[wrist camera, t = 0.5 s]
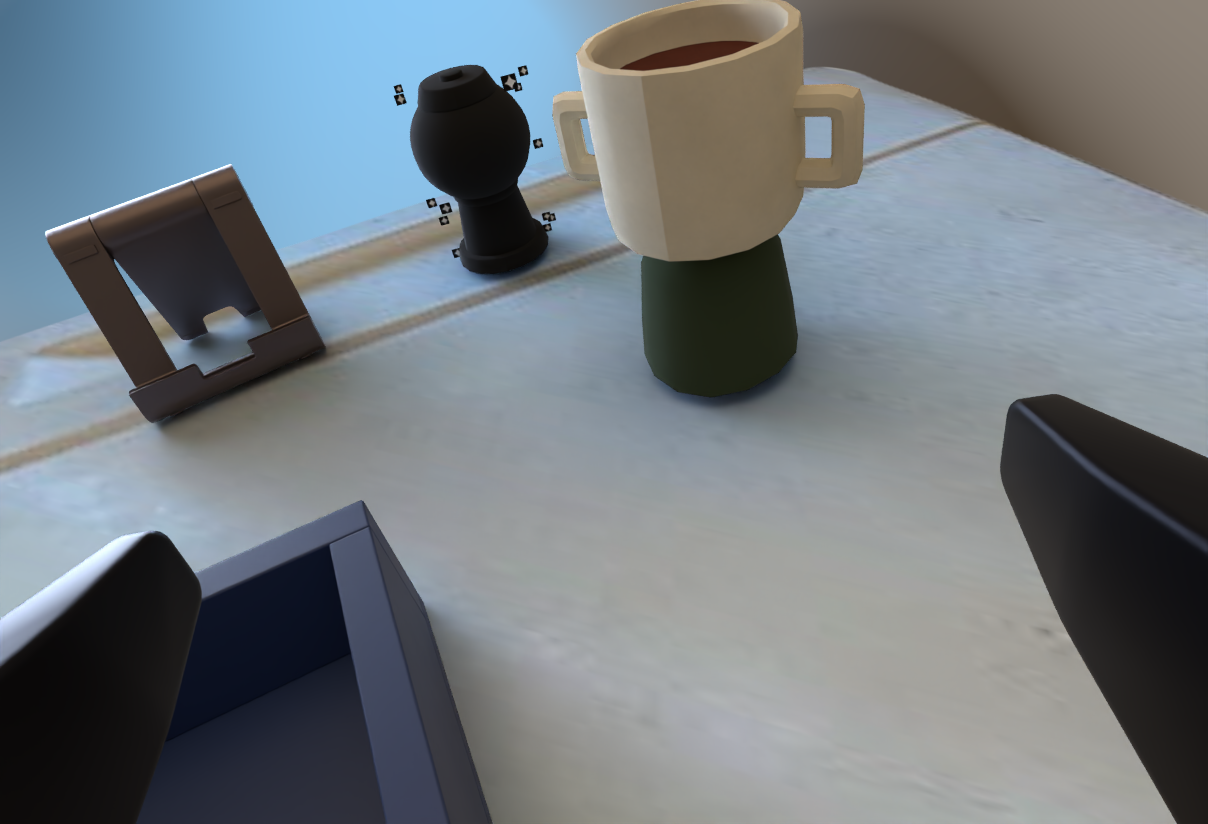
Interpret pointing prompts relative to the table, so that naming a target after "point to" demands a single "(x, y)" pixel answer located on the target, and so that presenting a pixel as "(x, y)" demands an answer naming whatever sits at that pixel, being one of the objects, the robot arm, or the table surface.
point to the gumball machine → (478, 164)
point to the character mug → (708, 175)
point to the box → (314, 693)
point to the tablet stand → (184, 285)
